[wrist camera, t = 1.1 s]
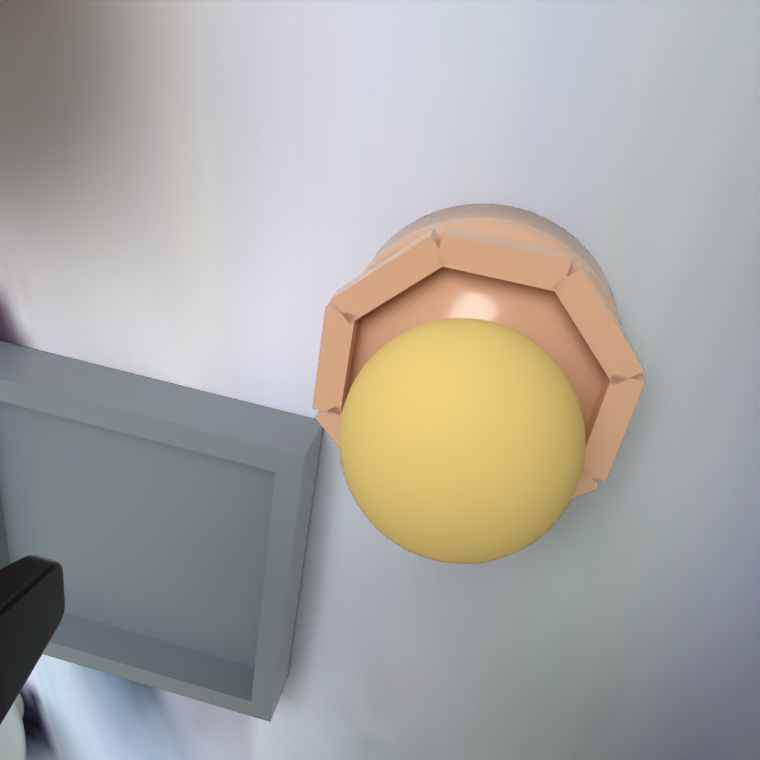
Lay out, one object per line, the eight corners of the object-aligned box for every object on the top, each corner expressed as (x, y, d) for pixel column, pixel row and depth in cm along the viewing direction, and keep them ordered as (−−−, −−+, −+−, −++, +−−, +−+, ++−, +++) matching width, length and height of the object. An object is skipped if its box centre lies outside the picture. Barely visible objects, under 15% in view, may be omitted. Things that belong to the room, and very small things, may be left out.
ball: (608, 312, 15) (635, 429, 11) (546, 492, 18) (547, 648, 13) (386, 262, 16) (326, 355, 11) (354, 444, 18) (295, 579, 14)
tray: (323, 421, 22) (304, 456, 20) (287, 677, 27) (270, 721, 26) (-29, 333, 23) (-76, 359, 21) (8, 595, 29) (-27, 633, 27)
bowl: (656, 236, 17) (682, 285, 14) (572, 471, 21) (577, 552, 17) (373, 177, 18) (338, 210, 15) (337, 413, 21) (302, 481, 18)
